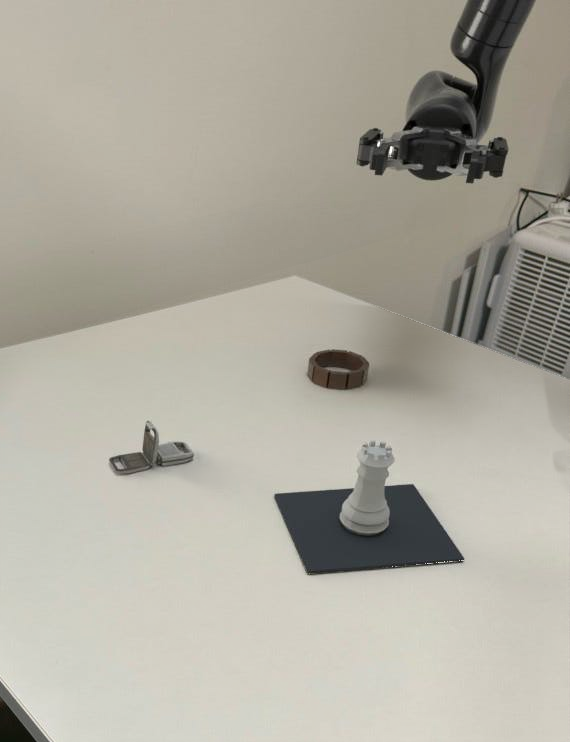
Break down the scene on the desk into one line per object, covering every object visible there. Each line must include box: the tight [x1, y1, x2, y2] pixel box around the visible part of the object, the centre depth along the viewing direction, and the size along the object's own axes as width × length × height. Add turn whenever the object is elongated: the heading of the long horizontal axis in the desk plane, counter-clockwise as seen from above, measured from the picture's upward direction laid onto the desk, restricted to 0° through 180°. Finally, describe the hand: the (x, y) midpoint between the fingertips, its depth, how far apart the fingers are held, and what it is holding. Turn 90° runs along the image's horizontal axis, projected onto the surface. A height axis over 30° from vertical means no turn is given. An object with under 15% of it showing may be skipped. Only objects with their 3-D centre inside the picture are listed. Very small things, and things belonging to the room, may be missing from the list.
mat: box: [273, 483, 465, 575], centre depth 76 cm, size 14×12×1 cm
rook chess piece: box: [340, 439, 396, 536], centre depth 73 cm, size 4×4×8 cm
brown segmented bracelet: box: [307, 348, 370, 391], centre depth 101 cm, size 7×7×2 cm
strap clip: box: [108, 420, 195, 474], centre depth 84 cm, size 8×3×4 cm, turn 111°
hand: (425, 168), depth 78 cm, fingers open, 8 cm apart
